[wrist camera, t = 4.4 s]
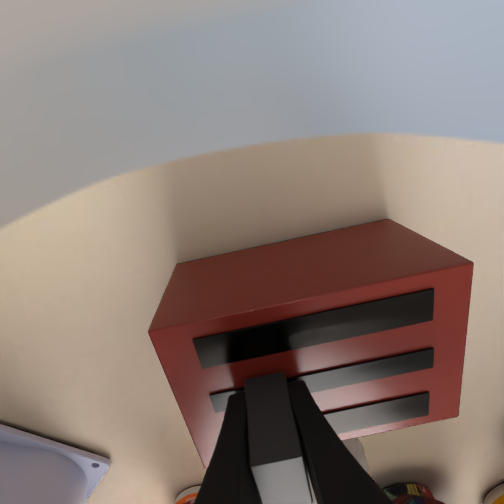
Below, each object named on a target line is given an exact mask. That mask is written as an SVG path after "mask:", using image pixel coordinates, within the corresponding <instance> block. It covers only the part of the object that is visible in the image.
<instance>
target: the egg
mask: <svg viewBox="0 0 504 504" xmlns="http://www.w3.org/2000/svg"><path fill="white" fill-rule="evenodd" d="M383 491H384V492H385V493H386V494H387V496H388V497H389V498H390V499H391V500H392V501H393V502H394V503H395V504H445V503H443V502H441V501H438V500H436V499H435V498H434V497H433V495H432V493H431V491H430V490H429V489H428V488H427V487H424V486H421V485H417V484H413V483H411V484H405V485H404V484H400V485H396V484H395V485H394V486H393V487H390V488H385V489H384V490H383Z"/></svg>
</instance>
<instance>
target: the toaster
mask: <svg viewBox="0 0 504 504" xmlns="http://www.w3.org/2000/svg"><path fill="white" fill-rule="evenodd" d="M473 266H474V263H473V262H472V261H470V260H468V259H466V258H464V257H462V256H460V255H458V254H456V253H454V252H453V251H451V250H449V249H447V248H445V247H443V246H441V245H439V244H437V243H435V242H433V241H431V240H429V239H427V238H425V237H423V236H422V235H420V234H418V233H416V232H414V231H412V230H410V229H408V228H406V227H404V226H402V225H400V224H398V223H396V222H394V221H393V220H391V219H385V220H381V221H376V222H371V223H367V224H362V225H357V226H353V227H348V228H343V229H339V230H334V231H329V232H325V233H320V234H315V235H311V236H306V237H301V238H297V239H292V240H287V241H283V242H278V243H273V244H269V245H264V246H259V247H255V248H250V249H245V250H241V251H236V252H231V253H227V254H222V255H217V256H213V257H208V258H203V259H199V260H194V261H189V262H185V263H180V264H176V266H175V269H174V271H173V273H172V276H171V278H170V280H169V283H168V285H167V287H166V290H165V292H164V294H163V297H162V299H161V301H160V304H159V306H158V309H157V311H156V313H155V316H154V318H153V320H152V323H151V325H150V327H149V330H148V334H149V336H150V338H151V341H152V343H153V346H154V348H155V350H156V353H157V355H158V358H159V360H160V363H161V365H162V367H163V370H164V372H165V375H166V377H167V379H168V382H169V384H170V387H171V389H172V391H173V394H174V396H175V399H176V401H177V403H178V406H179V408H180V411H181V413H182V415H183V418H184V420H185V423H186V425H187V427H188V430H189V432H190V435H191V437H192V439H193V442H194V444H195V447H196V449H197V451H198V454H199V456H200V459H201V461H202V463H203V466H204V468H208V466H209V463H210V460H211V458H212V455H213V452H214V449H215V445H216V442H217V439H218V436H219V433H220V430H221V426H222V422H223V419H224V415H225V411H226V406H227V401H228V397H229V396H230V395H231V394H236V393H241V392H245V386H244V381H245V380H246V379H250V378H255V377H259V376H264V375H269V374H274V373H278V372H284V373H285V375H286V380H287V383H289V382H294V381H299V380H303V381H305V382H306V385H307V387H308V389H309V391H310V393H311V395H312V397H313V399H314V400H315V402H316V404H317V405H318V407H319V409H320V410H321V412H322V413H323V415H324V416H325V418H326V419H327V421H328V422H329V424H330V425H331V427H332V428H333V430H334V431H335V432H336V434H337V435H338V437H339V438H340V439H341V441H342V440H347V439H352V438H357V437H362V436H366V435H371V434H376V433H381V432H386V431H391V430H395V429H400V428H405V427H410V426H415V425H420V424H425V423H429V422H434V421H439V420H444V419H449V418H454V417H457V416H458V414H459V404H460V394H461V384H462V374H463V364H464V355H465V345H466V335H467V325H468V315H469V305H470V295H471V285H472V276H473Z"/></svg>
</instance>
